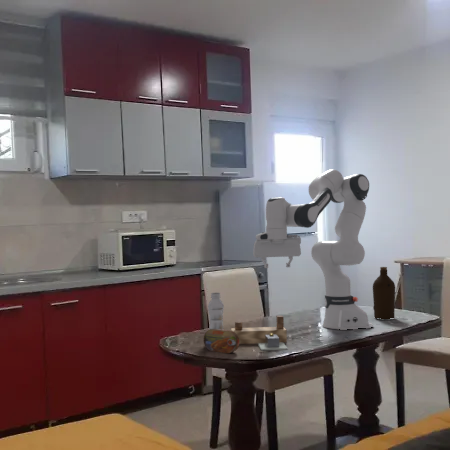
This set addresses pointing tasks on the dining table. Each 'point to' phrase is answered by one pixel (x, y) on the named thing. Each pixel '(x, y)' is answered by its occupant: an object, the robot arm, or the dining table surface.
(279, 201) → the robot arm
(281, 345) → the mat
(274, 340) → the lever cap
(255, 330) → the body
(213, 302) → the plastic bottle
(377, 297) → the olive oil
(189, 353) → the dining table surface
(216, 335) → the tin
